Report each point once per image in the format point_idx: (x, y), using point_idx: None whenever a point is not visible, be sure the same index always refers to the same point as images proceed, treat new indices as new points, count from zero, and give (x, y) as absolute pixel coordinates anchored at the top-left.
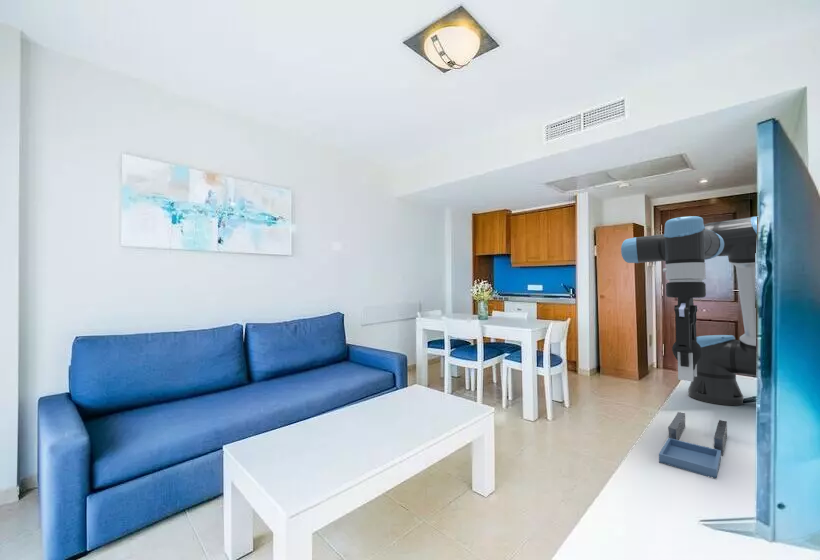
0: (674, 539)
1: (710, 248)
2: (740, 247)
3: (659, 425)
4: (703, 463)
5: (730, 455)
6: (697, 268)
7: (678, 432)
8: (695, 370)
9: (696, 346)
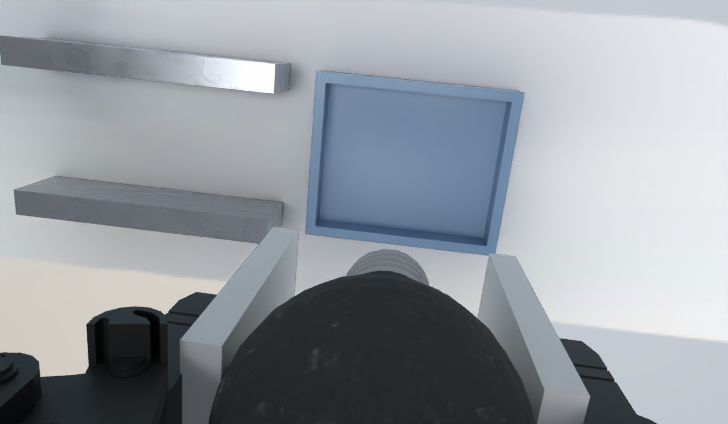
0: None
1: None
2: None
3: (111, 257)
4: (426, 125)
5: (261, 40)
6: None
7: (217, 203)
8: (285, 252)
9: (479, 398)
